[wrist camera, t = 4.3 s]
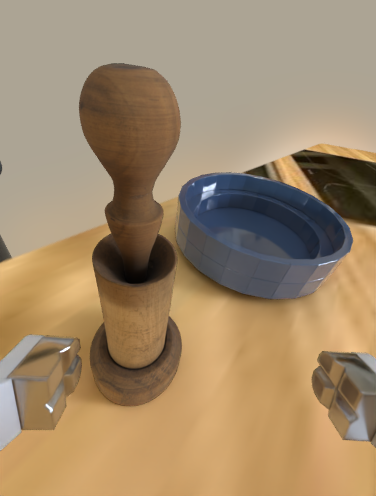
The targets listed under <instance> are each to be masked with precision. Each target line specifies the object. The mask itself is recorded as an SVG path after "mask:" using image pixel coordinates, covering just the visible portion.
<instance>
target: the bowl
mask: <svg viewBox="0 0 376 496" xmlns="http://www.w3.org/2000/svg"><path fill="white" fill-rule="evenodd" d="M175 234H176V241H177V244H178V245H179V247H180V249H181V251H182V253H183V255H184V256H185V257H186V258H187V259H188V260H189V261H190V262H191V263H192V264H193V265H194V266H195V267H196V268H197V269H198V270H199V271H200V272H202V273H203V274H205V275H206V276H208V277H209V278H211V279H212V280H214V281H215V282H217V283H219V284H220V285H223V286H225V287H228V288H230V289H233V290H235V291H238V292H240V293H242V294H247V295H252V296H257V297H262V298H267V299H295V298H298V297H302V296H305V295H308V294H311V293H314V292H315V291H316V290H317V289H318V288H319V287H321V286H322V285H323V284H324V283H325V282H326V281H327V280H328V278H329V277H330V276H331V275H332V273H333V272H334V271H335V270H336V268H337V267H338V266H339V265H340V263H341V262H342V261H343V260H344V258H345V257H346V256H347V255H348V253H349V252H350V250H351V246H352V243H353V238H352V235H351V231H350V228H349V227H348V225H347V224H346V223H345V221H344V220H343V219H342V218H341V216H340V215H339V214H337V213H336V212H335V211H334V210H333V209H332V208H330V207H329V206H328V205H326V204H325V203H323V202H322V201H320V200H318V199H317V198H315V197H314V196H312V195H310V194H308V193H306V192H304V191H302V190H300V189H298V188H295V187H292V186H290V185H287V184H285V183H282V182H279V181H276V180H272V179H268V178H265V177H260V176H255V175H249V174H242V173H231V172H229V173H211V174H205V175H201V176H198V177H196V178H193V179H191V180H189V181H188V182H187V183H186V184H185V185H184V186H182V189H181V191H180V194H179V198H178V206H177V215H176V223H175Z"/></svg>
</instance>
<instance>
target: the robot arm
mask: <svg viewBox="0 0 376 496" xmlns="http://www.w3.org/2000/svg"><path fill="white" fill-rule="evenodd" d="M80 348H81V347H80V339H78V338H74V337H61V336H49V335H46V336H44V335H32V334H30V335H28V336H25V337H24V338H23V339H22V340H21V341H20V342H19V343H18V344H17V345H16V346H15V347H14V348H13V349H12V350H11V351H10V352H9V353H8V354H7V355H6V356H5V357H4V358H3V359H2V360H1V361H0V451H1V450H2V449H3V448H4V447H5V446H6V445H8V444H9V443H10V442H11V441H12V440H13V439H14V438H15V437H17V436H18V435H19V434H20V433H21V432H22V431H21V430H54V429H55V427H56V425H57V423H58V421H59V419H60V418H61V416H62V414H63V412H64V410H65V408H66V397H67V396H69V395H70V394H71V393H73V392H74V390H75V388H76V386H77V384H78V381H79V378H80V374H81V368H82V360H81V358H80V357H79V356H78V355H77V353H78V352H79V350H80ZM317 361H318V363H319V365H320V366H319V367H318V368H316V369H315V370H314V371H313V375H312V387H313V390H314V393H315V395H316V397H317V398H318V400H319V402H320V403H321V404H323V405H324V406H325V407H326V408H328V409H329V411H328V417H329V418H330V420H331V421H332V423H333V425H334V426H335V428H336V430H337V431H338V433H339V434H340V436H341V438H342V439H343V440H354V441H369V442H371V444H372V445H373V446H374V447H375V448H376V359H375V358H374V357H373V356H372V355H370V354H368V353H356V352H351V353H349V352H328V351H322V352H321V353H320V354H319V357H318V359H317Z"/></svg>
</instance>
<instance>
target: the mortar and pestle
mask: <svg viewBox="0 0 376 496" xmlns="http://www.w3.org/2000/svg"><path fill="white" fill-rule="evenodd" d="M79 113H80V121H81V126H82V130H83V133H84V136H85V138H86V139H87V142H88V144H89V145H90V147H91V149H92V150H93V152H94V153H95V155H96V156H97V157H98V159H99V161H100V162H101V164H102V165H103V166H104V168H105V169H106V171H107V172H108V174H109V175H110V176H111V178H112V180H113V183H114V197H113V201H111V202H110V203H109V204H108V205H107V206H106V208H105V215H106V219H107V222H108V225H109V228H110V231H111V233H112V234H109V235H108V236H106V237H105V238H103V239H102V240H101V241H100V242H99V243H98V244H97V246H96V247H95V249H94V251H93V255H92V262H93V267H94V272H95V277H96V282H97V286H98V291H99V296H100V302H101V307H102V313H103V318H104V323H103V324H102V325H101V326H100V328H99V329H98V331H97V332H96V334H95V336H94V339H93V341H92V345H91V350H90V363H91V368H92V372H93V375H94V379H95V382H96V384H97V386H98V388H99V390H100V391H101V393H102V394H103V395H104V396H105V397H106V398H107V399H109V400H110V401H112V402H114V403H117V404H120V405H124V406H137V405H141V404H144V403H147V402H149V401H151V400H153V399H154V398H156V397H157V396H159V395H160V394H161V393H162V392H163V391H164V390H165V389H166V388H167V387H168V385H169V384H170V383H171V381H172V380H173V378H174V376H175V374H176V371H177V368H178V364H179V360H180V356H181V349H182V343H181V336H180V332H179V330H178V327H177V325H176V324H175V322H174V321H173V320H172V319H171V318H170V317H169V311H170V304H171V298H172V291H173V285H174V279H175V273H176V267H177V253H176V250H175V248H174V246H173V245H172V244H171V242H170V241H168V240H167V239H166V238H165V237H163V236H162V235H160V234H158V232H159V229H160V226H161V223H162V219H163V208H162V206H161V205H160V204H159V203H157V202H156V201H154V199H153V195H152V190H153V187H154V184H155V181H156V179H157V177H158V176H159V174H160V172H161V171H162V169H163V168H164V167H165V165H166V163H167V162H168V160H169V158H170V157H171V155H172V153H173V152H174V150H175V148H176V145H177V143H178V140H179V136H180V127H181V121H180V111H179V107H178V103H177V100H176V97H175V94H174V92H173V90H172V88H171V86H170V85H169V83H168V82H167V81H166V79H165V78H164V77H162V76H161V75H160V74H159V73H158V72H157V71H155V70H154V69H150V68H146V67H142V66H135V65H129V64H124V63H118V64H117V63H113V64H108V65H103V66H100V67H98V68H97V69H95V70H94V71H93V72H92V73H91V74H90V75H89V76H88V78H87V80H86V81H85V83H84V86H83V89H82V91H81V95H80V102H79Z"/></svg>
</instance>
